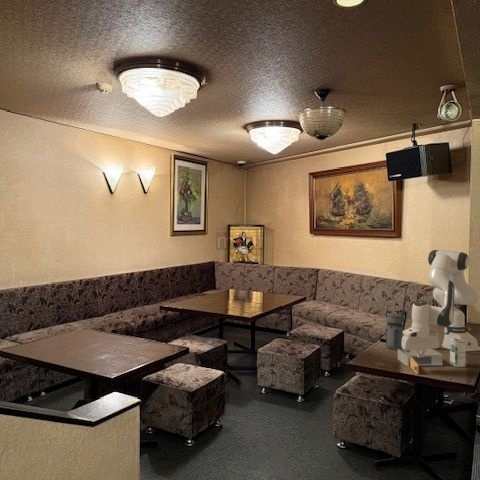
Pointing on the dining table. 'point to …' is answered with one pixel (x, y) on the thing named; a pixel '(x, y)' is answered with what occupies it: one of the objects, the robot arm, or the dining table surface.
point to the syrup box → (457, 352)
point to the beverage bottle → (395, 328)
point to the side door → (414, 365)
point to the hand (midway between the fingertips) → (420, 357)
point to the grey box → (420, 357)
